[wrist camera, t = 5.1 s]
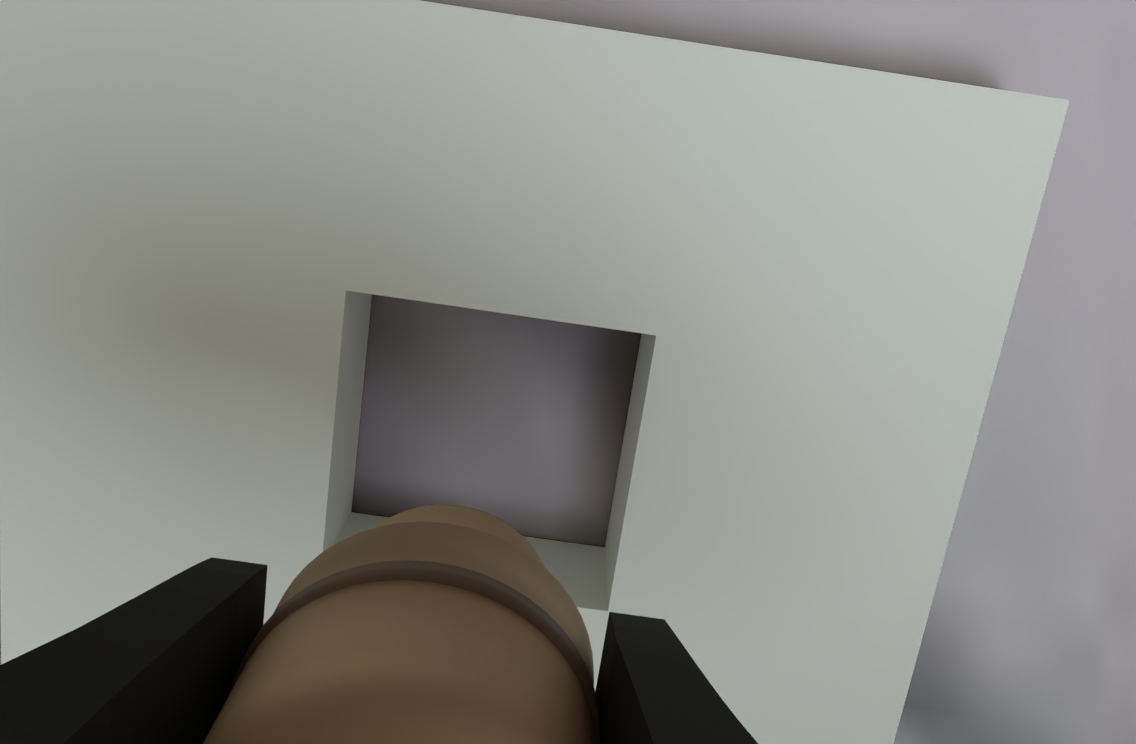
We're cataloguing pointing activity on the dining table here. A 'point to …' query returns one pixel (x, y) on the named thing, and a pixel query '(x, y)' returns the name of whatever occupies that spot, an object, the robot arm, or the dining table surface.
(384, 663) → the oak peg
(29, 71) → the sage board
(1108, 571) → the dining table surface
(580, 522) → the dining table surface
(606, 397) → the dining table surface
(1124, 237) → the dining table surface
